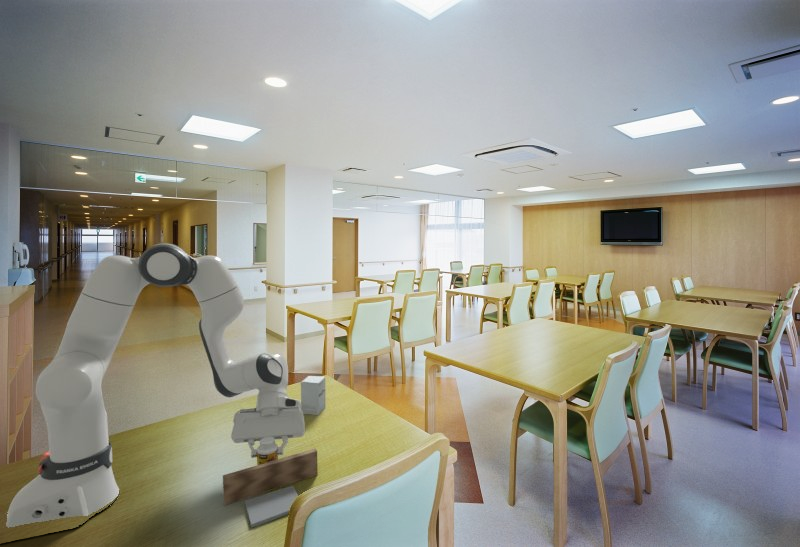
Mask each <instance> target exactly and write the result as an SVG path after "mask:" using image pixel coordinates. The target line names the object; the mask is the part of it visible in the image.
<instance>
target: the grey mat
mask: <svg viewBox="0 0 800 547" xmlns="http://www.w3.org/2000/svg"><path fill="white" fill-rule="evenodd" d="M297 496H299V494H298V493H297V490H296V489H295V486H294V485H290V486H286V487H284V488H281V489H278V490H275V491H272V492H271V491H270V492H269V493H265V494H262V495H258V496H257V497H253V498H250V499H247V500H245V501H244V505H245V509H246V513H247V516H248V520H249V523H250V528H255V527H257V526H259V525H262V524H265V523H268V522H270V521H273V520H276V519H279V518H282V517H284V516H286V515H289V514H288V513H289V509H290V506H291V504H292V502H293V501H294V499H295V498H296V497H297Z"/></svg>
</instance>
